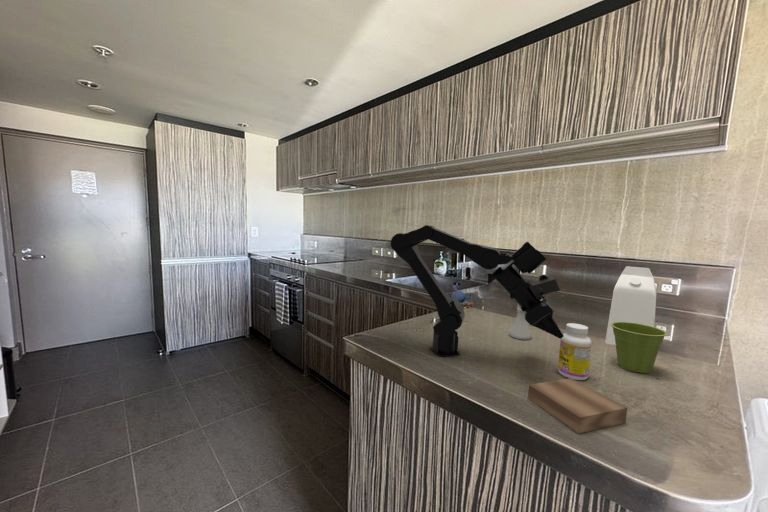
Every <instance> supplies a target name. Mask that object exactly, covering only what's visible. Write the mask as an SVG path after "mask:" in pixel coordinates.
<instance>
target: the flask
mask: <svg viewBox="0 0 768 512" xmlns="http://www.w3.org/2000/svg"><path fill="white" fill-rule="evenodd" d="M516 310H517V314H516V317H515V320H514V322H513V324H512V327H511V328H510V331H509V332H508V336H509V337H512V338H513V339H517V340H521V341H523V340H524V341H525V340H526V341H527V340H531V339H532V338H533V336H532V332H531V330H530V327H529V323H528V322H527V321H526V320H525V317H524V313H525V311H524V312H523V311H522V310H521V308H520V307H517V308H516Z"/></svg>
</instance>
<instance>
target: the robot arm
mask: <svg viewBox="0 0 768 512" xmlns="http://www.w3.org/2000/svg"><path fill="white" fill-rule="evenodd" d="M428 240H429V241H432V242H434V243H436V244H438V245H441V246H443V247H445V248H448V249H450V250H453V251H454V252H456V253H459V254H461V255H464V256H465V257H467V258H468V259H469V260H470V261H472V262H473V263H475V264H476V265H478V266H479V267H481V268H482V269H484V270H490V271H491V270H494V269H495V270H494V271H493V272H487V284H491V283H492V282H493V281H496V283H497V284H499V286H500V287H501V288H502V289H503V290H504V291H505V293H507V294H508V296H509V298H510V299H511V300H513V301H514V302H516V304H517V305H518V306H519V308H521V310H522V311H523V312H524V311H525V313H524V317H525V320H526V321H527V323H528V325H530V326H532V327H536V328H537V329H539V330H542V331H543V332H546V333H548V334H549V335H552V336H553V337H556V338H558V339H561V338H562V337H563V336H564V335H563V334H564V333H562V331H561V329H560V328H559V326H558V324H557V322H556V321H555V319H554V318H553V315H554V309H553V308H552V307H551V305H550V304H549V303H548V302H547V298H546V297H545V296H544V295H547V294H550V293H557V292H560V291H561V287H560V284H559V281H558V280H557V279H556V277H555V276H547V275H546V274H541V275H539V276H538V280H537V281H535V282H533V283H531V281H529V280H526V279H525V278H524V277H523V276H522V275H523V274H527V273H528V274H529V275H530V274H532V273H533V272H534V271H536V270H537V269H538V268H539V267H541V266H542V265H543V264H544V263H546V262H547V261H548V259H547V258H546V257H545V256H544V255H543V254H542V253H541V251H540V250H538V249H537V248H535V247H534V246H533V245H532V244H531V243H530V242H529V241H526V242H524V243H523V244H522V246H521V247H519V248H518V249H517V250H516V251H515V252H514V253H512V254H509V253H504V252H500V251H499V250H498V249H497V248H495V247H491V246H487V245H482V244H477V243H472V242H470V241H467V240H465V239H463V238H460V237H458V236H456V235H453V234H451V233H448V232H446V231H443V230H441V229H439V228H436V227H435V226H434V225H429V224H427V225H426V224H425V225H423V226H422V227H420V228H417V229H415V230H411V231H408V232H406V233H404V232H402V233H396V234H394V235H393V236H392V238H391V240H390V248H391V249H392V251H394V253H396V255H397V256H398V257H399V258H401V260H403V262H406V263H407V265H409V267H410V268H411V270H412V272H414V275H415V277H417V279H418V281H419V283H421V285H422V286H423V288H424V290H425V291H426V292H427V294H428V295H429V297H430V298H431V300H432V302H433V303H434V305H435V309H436V312H437V315H438V317H439V319H438V320H437V322H436V323H435V324H434V325H433V327H432V329H433V336H432V346H429V349H430V350H432V352H434V354H436V355H437V356H439V357H449V356H458V355H460V352H459V351H458V349H459V335H458V334H459V333H458V331H457V330H458V329H459V328H460V327H461V326H462V325H463V323H464V320H465V317H466V315H465V314H466V313H465V311H464V309H465V308H464V307H463V306H461V304H460V303H459V301H458V299H457V297H455V298H454V299H451V296H449V295H448V294H447V293H446V292H445V290H444V288H443V287H442V286H441V284H440V283H439V281H438V279H437V278H436V277H435V275H434V274H433V273H432V271H431V269H430V268H429V266H428V265H427V264H426V262H425V260H424V258H423V257H422V256H421V252H420V248H419V246H418V245H419V244H421V243H424V242H426V241H428ZM501 265H506V266H505V267H502V266H501ZM513 265H514V266H515V267H516V268H515V267H514V266H513ZM498 266H499V267H498ZM517 269H518V270H519V272H521V273H522V275H521V274H520V273H519V272H518V270H517Z"/></svg>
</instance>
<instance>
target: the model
mask: <svg viewBox="0 0 768 512" xmlns="http://www.w3.org/2000/svg"><path fill="white" fill-rule="evenodd" d="M452 289H453V292H451V295H450V298H451V299H454V298H455V297H457V299H458V301H459V303H460V304H461V306H463V307H472V306H475V304H474V303H473V301H472V292H468V293H466V295H465V293H464V292H463V291H462V290H459V289H457V286H456V284H455V285H452Z"/></svg>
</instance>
